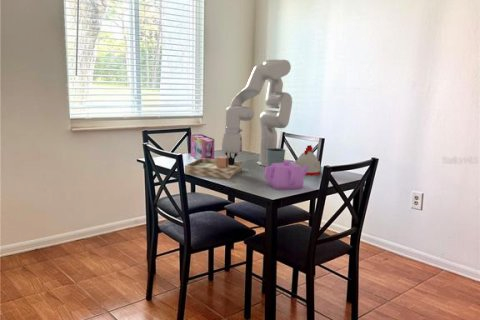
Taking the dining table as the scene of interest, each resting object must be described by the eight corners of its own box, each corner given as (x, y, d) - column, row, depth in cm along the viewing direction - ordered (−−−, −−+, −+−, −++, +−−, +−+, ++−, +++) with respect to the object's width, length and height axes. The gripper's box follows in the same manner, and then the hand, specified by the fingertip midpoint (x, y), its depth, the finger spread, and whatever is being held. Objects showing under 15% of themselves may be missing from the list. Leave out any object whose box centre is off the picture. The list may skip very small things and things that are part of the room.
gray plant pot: (283, 173, 227) (284, 151, 224) (264, 172, 229) (265, 150, 226) (284, 169, 236) (286, 148, 234) (266, 168, 238) (267, 147, 236)
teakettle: (261, 187, 197) (262, 161, 194) (275, 180, 212) (277, 156, 209) (296, 193, 189) (297, 166, 187) (308, 185, 204) (310, 160, 202)
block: (228, 166, 229) (228, 156, 228) (225, 167, 224) (225, 158, 223) (219, 165, 230) (219, 156, 229) (216, 166, 226) (216, 157, 225)
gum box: (215, 162, 251) (216, 139, 249) (202, 163, 248) (203, 139, 245) (202, 155, 272) (202, 134, 270) (190, 155, 269) (190, 134, 267)
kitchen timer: (323, 172, 233) (325, 145, 230) (313, 176, 222) (315, 148, 219) (301, 168, 241) (302, 142, 238) (289, 172, 230) (291, 145, 227)
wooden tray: (241, 170, 232) (242, 162, 231) (229, 178, 211) (229, 169, 210) (201, 166, 238) (201, 158, 238) (184, 174, 218) (184, 165, 217)
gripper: (248, 131, 224) (246, 165, 227) (221, 129, 228) (220, 162, 231) (244, 132, 217) (242, 167, 220) (216, 130, 221) (215, 165, 224)
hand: (231, 165), depth 226 cm, fingers closed
